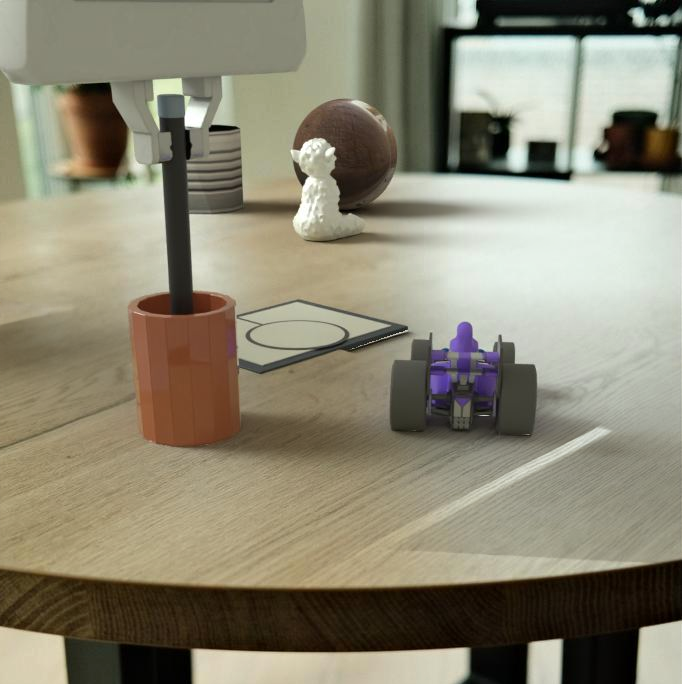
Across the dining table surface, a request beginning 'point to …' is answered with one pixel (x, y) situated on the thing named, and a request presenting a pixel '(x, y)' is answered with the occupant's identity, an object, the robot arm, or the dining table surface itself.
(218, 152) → the can
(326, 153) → the white creature statuette
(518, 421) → the toy race car
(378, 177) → the wooden sphere
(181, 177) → the pen
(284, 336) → the white flat board
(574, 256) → the dining table surface
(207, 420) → the cup
